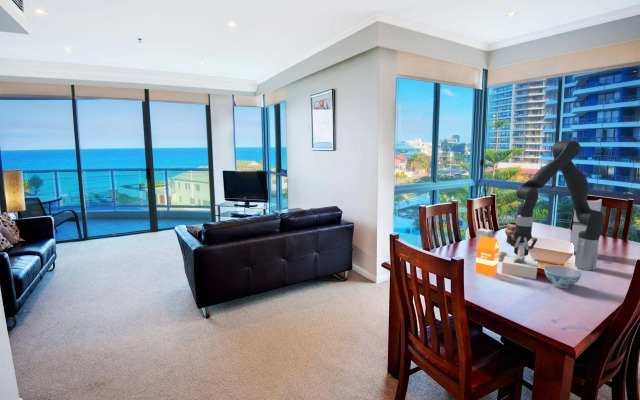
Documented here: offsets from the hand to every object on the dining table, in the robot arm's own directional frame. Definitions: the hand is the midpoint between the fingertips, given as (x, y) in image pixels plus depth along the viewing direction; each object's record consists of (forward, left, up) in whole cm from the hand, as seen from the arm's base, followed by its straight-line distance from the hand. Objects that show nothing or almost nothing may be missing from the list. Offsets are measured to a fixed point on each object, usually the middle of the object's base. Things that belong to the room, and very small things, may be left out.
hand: (520, 254), depth 186 cm
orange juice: (+15, +10, -10) cm, 21 cm away
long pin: (0, 0, -4) cm, 4 cm away
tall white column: (-30, -55, -10) cm, 63 cm away
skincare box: (+22, -26, -10) cm, 36 cm away
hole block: (0, 0, -10) cm, 10 cm away
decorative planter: (+7, -59, -10) cm, 60 cm away
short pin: (+10, -15, -10) cm, 21 cm away
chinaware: (-19, +8, -10) cm, 23 cm away
